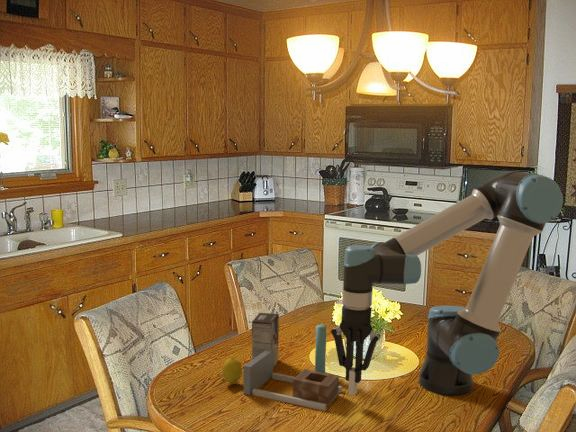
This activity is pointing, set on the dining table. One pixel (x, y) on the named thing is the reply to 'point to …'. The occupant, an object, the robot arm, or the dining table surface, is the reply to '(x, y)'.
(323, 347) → the dowel
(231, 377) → the lemon
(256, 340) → the coffee box
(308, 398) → the socket block
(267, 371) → the slide base
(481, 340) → the robot arm
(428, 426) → the dining table surface
